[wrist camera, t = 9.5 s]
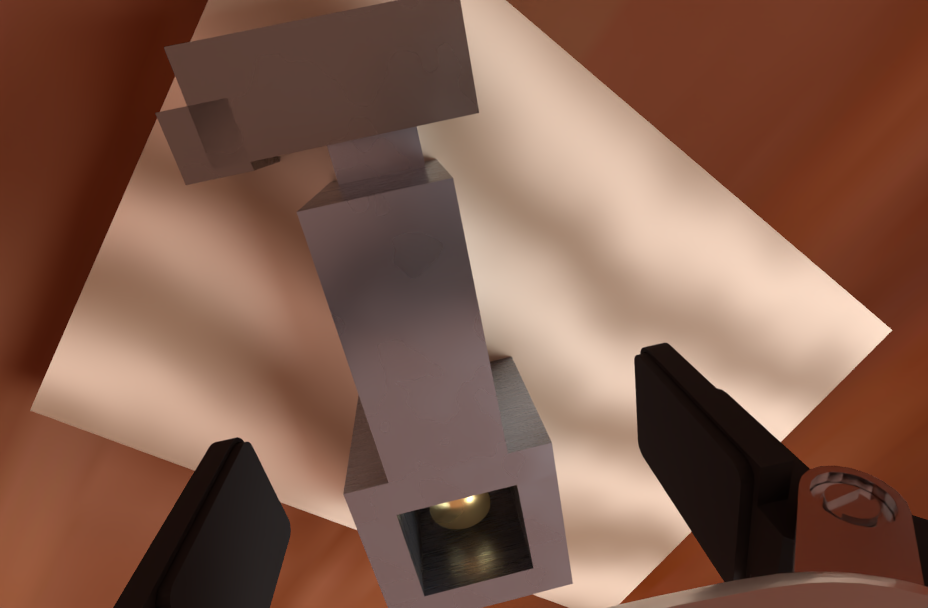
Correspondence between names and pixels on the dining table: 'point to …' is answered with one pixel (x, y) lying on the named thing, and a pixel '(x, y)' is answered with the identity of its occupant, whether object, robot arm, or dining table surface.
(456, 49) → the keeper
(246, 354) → the board
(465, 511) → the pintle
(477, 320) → the link
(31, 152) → the dining table surface
